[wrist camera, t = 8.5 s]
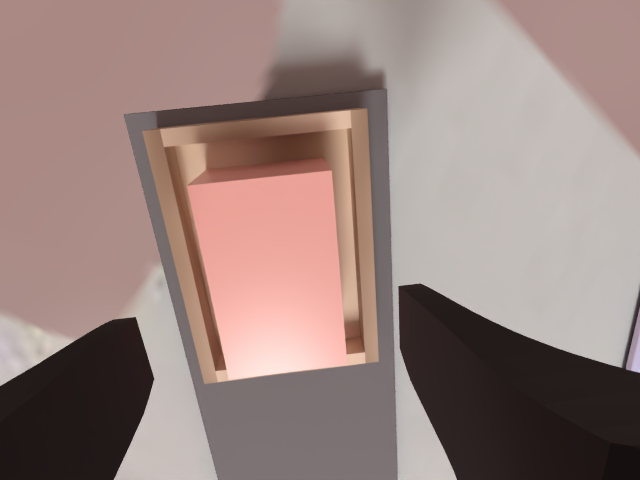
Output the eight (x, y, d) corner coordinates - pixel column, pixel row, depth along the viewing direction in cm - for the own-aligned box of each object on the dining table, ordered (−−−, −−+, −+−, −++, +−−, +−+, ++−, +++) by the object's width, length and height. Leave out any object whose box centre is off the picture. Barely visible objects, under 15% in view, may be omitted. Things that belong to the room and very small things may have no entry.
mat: (383, 89, 15) (386, 88, 15) (395, 480, 23) (397, 490, 22) (129, 113, 15) (123, 114, 14) (228, 504, 22) (227, 514, 22)
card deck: (337, 322, 18) (347, 364, 15) (238, 334, 17) (229, 379, 15) (323, 157, 15) (331, 170, 12) (206, 169, 15) (186, 185, 12)
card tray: (359, 107, 15) (367, 108, 13) (371, 340, 19) (378, 361, 17) (157, 127, 14) (141, 131, 13) (211, 360, 18) (204, 384, 17)
